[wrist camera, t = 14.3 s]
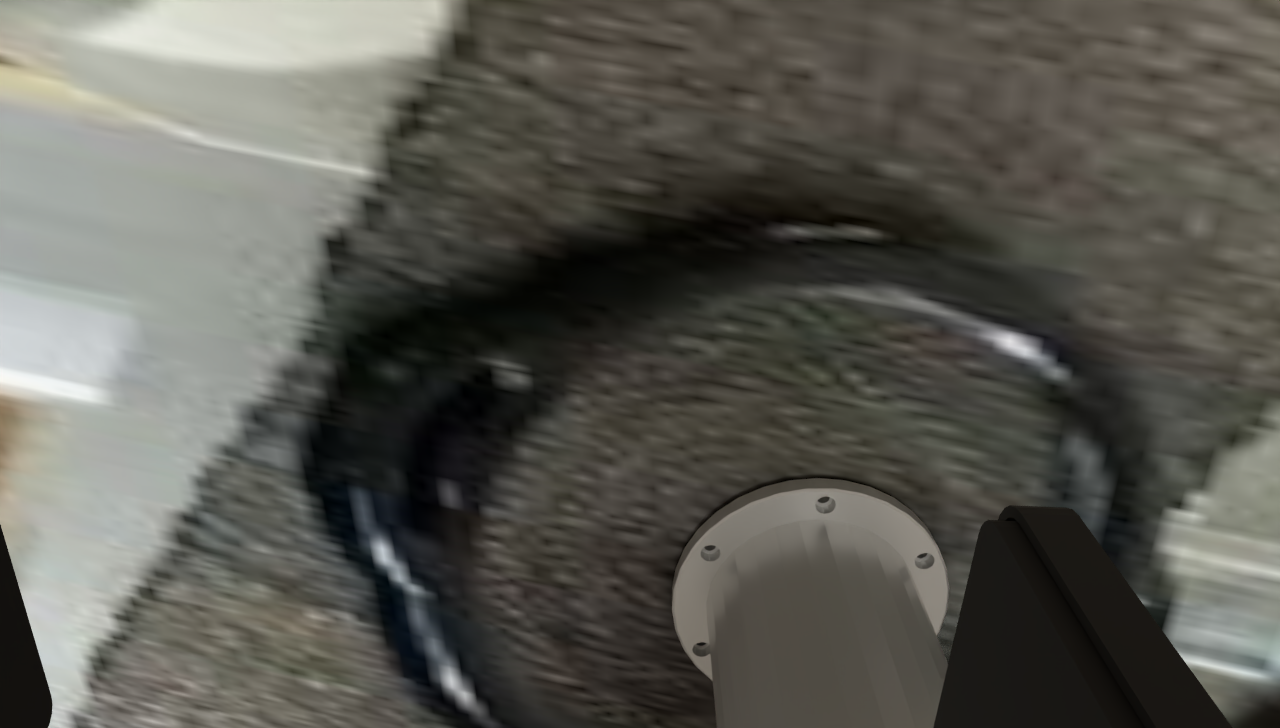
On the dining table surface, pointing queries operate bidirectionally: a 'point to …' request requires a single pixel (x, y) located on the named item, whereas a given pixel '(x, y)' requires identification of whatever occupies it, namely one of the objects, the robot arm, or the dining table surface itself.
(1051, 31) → the dining table surface
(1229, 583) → the dining table surface
